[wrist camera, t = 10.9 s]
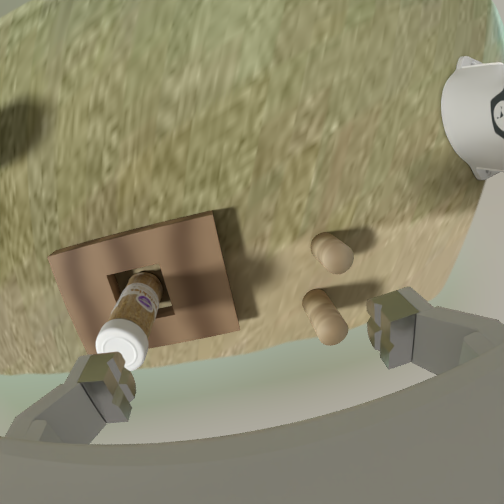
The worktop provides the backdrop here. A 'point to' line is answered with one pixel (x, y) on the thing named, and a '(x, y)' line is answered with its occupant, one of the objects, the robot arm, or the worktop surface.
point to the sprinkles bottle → (132, 320)
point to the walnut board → (174, 273)
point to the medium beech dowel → (324, 317)
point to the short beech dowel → (332, 253)
